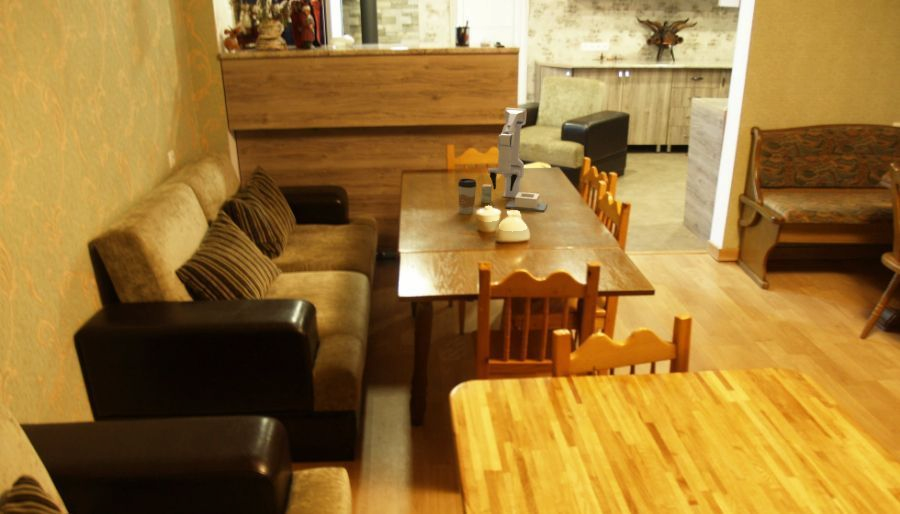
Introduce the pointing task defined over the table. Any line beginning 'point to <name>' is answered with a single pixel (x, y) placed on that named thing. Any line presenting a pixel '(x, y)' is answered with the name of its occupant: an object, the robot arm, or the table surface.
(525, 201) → the well
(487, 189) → the peg
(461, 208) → the coffee cup
